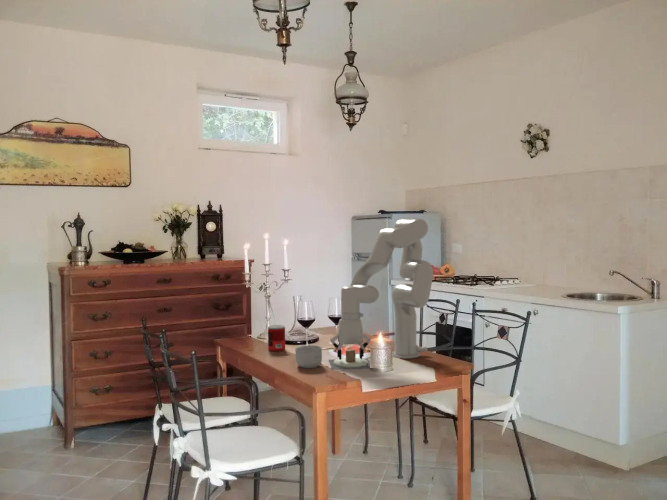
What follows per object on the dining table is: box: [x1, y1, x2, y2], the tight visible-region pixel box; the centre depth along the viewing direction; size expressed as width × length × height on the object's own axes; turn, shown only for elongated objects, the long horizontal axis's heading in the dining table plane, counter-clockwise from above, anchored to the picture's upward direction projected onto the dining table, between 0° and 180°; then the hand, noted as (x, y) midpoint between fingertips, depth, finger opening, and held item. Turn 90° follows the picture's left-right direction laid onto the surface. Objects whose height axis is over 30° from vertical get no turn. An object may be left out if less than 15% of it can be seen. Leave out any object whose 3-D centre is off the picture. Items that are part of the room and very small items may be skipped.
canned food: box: [267, 324, 286, 353], centre depth 273 cm, size 8×8×11 cm
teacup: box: [294, 344, 323, 369], centre depth 242 cm, size 14×11×8 cm
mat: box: [327, 357, 371, 371], centre depth 244 cm, size 17×17×1 cm
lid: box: [333, 349, 368, 368], centre depth 244 cm, size 14×14×6 cm
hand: (350, 358), depth 244 cm, fingers open, 8 cm apart
